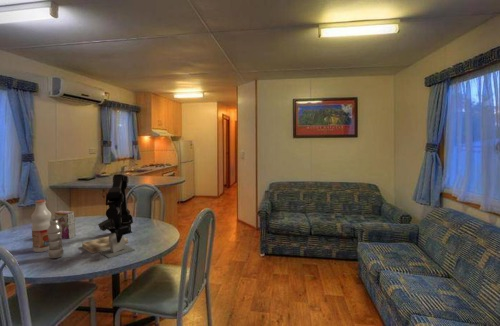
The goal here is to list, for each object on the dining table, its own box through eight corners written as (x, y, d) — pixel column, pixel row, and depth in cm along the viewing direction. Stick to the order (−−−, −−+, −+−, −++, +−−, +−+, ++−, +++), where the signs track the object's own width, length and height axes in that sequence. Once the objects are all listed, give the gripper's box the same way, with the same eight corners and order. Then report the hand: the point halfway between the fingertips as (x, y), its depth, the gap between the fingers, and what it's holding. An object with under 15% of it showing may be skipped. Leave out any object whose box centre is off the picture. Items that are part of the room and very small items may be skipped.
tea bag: (125, 247, 155) (122, 230, 154) (113, 252, 150) (110, 235, 149) (122, 246, 158) (119, 229, 156) (110, 251, 153) (107, 234, 151)
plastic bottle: (53, 255, 149) (50, 218, 148) (66, 254, 150) (64, 218, 148) (45, 260, 143) (42, 221, 141) (59, 259, 143) (57, 221, 142)
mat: (124, 245, 163) (124, 244, 163) (134, 250, 155) (134, 249, 155) (99, 252, 152) (99, 251, 152) (108, 258, 144) (108, 257, 144)
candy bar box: (55, 237, 177) (53, 212, 176) (62, 235, 182) (61, 210, 181) (68, 239, 174) (67, 213, 173) (76, 236, 179) (74, 211, 178)
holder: (117, 237, 175) (117, 234, 175) (128, 242, 166) (127, 238, 166) (82, 247, 160) (82, 243, 160) (91, 253, 151) (91, 248, 151)
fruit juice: (38, 247, 161) (35, 199, 159) (56, 245, 163) (53, 198, 161) (29, 253, 152) (25, 202, 150) (49, 251, 154) (45, 201, 152)
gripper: (92, 214, 152) (94, 242, 153) (107, 220, 140) (109, 250, 141) (113, 210, 160) (114, 236, 162) (129, 215, 148) (130, 244, 150)
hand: (116, 241), depth 153 cm, fingers closed on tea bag, 4 cm apart
